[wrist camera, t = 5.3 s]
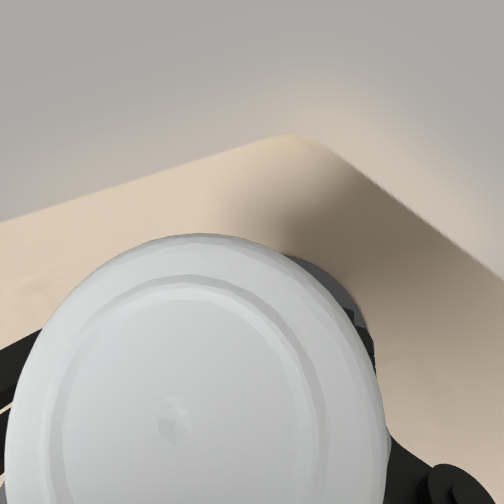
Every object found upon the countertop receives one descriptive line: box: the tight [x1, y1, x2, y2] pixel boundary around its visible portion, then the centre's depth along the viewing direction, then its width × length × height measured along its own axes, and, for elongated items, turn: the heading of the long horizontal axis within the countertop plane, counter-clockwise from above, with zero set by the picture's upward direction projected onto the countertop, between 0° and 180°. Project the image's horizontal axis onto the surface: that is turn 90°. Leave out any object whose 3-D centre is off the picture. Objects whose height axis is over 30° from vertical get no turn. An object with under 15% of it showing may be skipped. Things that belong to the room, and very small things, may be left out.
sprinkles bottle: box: [4, 233, 388, 504], centre depth 9 cm, size 5×5×14 cm
